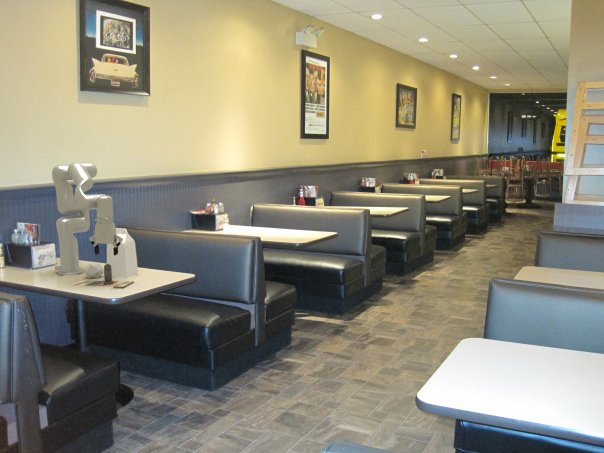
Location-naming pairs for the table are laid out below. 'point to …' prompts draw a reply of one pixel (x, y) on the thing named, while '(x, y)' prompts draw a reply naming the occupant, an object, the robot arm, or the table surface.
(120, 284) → the game board
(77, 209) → the robot arm
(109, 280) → the pawn
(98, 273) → the white faceted ball
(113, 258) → the milk
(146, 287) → the table surface
